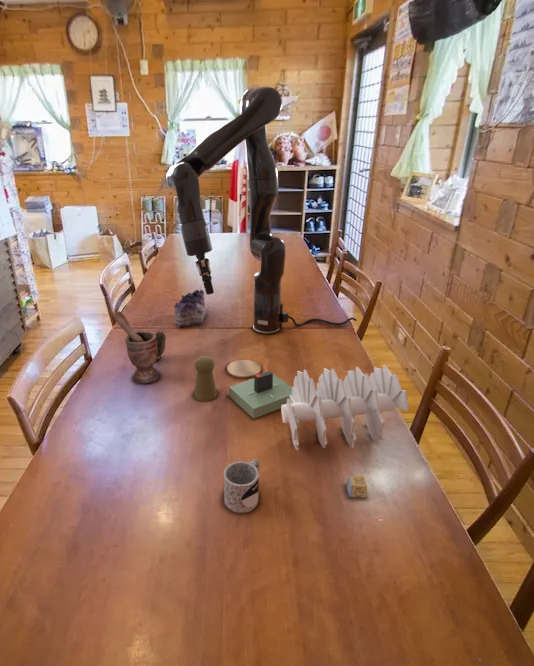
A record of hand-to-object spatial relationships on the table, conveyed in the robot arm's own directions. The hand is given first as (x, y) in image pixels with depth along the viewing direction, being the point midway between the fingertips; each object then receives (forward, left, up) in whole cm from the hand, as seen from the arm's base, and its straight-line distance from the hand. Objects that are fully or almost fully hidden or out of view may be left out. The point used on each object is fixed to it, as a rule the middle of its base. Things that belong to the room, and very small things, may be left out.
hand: (209, 290), depth 135 cm
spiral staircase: (-4, +52, -21) cm, 56 cm away
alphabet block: (+4, +67, -21) cm, 70 cm away
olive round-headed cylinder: (+13, +20, -21) cm, 32 cm away
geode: (-7, -29, -21) cm, 37 cm away
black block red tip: (+1, +30, -18) cm, 35 cm away
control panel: (+1, +30, -21) cm, 37 cm away
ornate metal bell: (+17, -6, -21) cm, 28 cm away
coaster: (-3, +14, -21) cm, 26 cm away
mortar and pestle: (+25, +2, -21) cm, 33 cm away
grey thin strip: (+23, +56, -21) cm, 64 cm away
